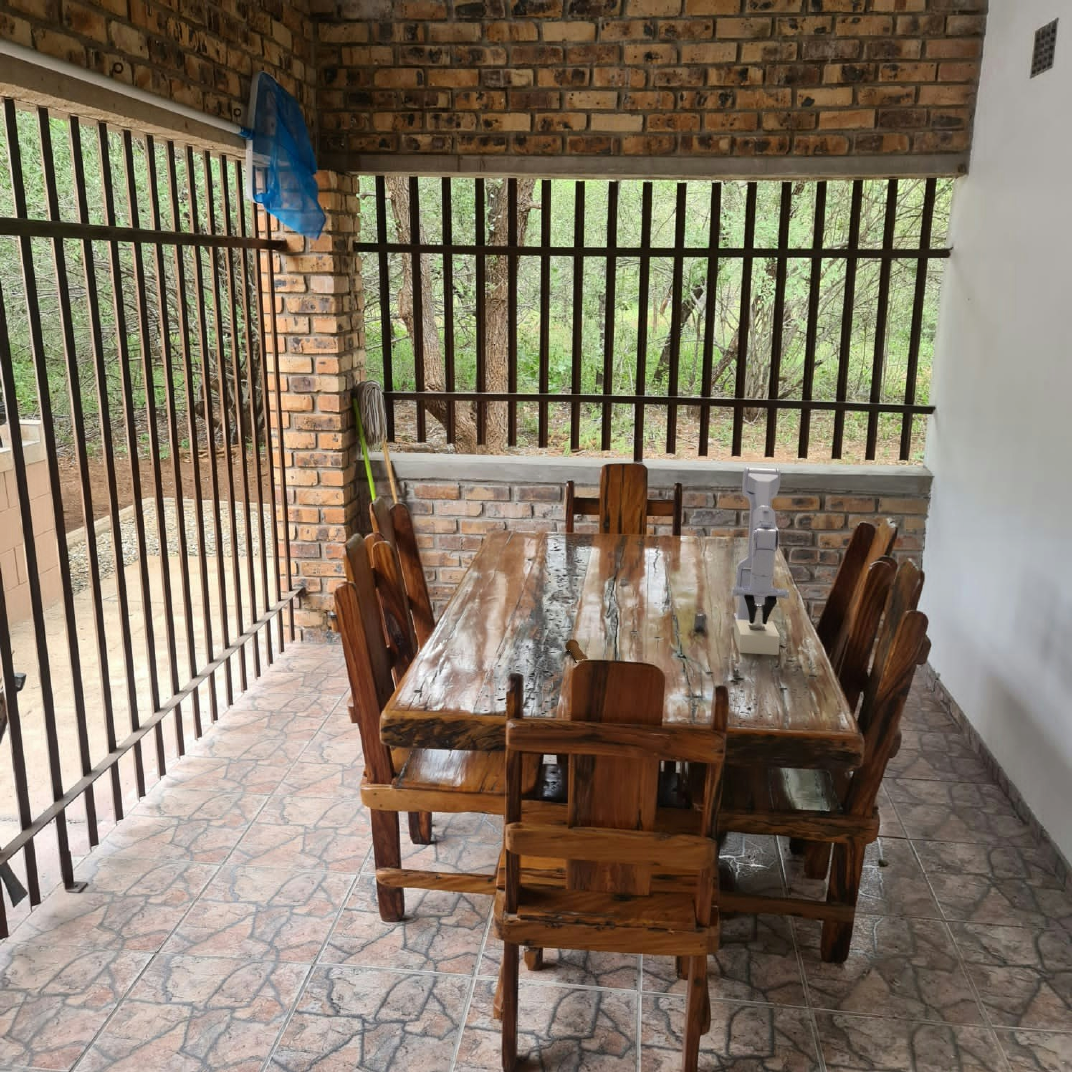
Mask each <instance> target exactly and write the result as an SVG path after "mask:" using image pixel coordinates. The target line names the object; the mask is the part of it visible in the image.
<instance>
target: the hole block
mask: <svg viewBox="0 0 1072 1072" xmlns="http://www.w3.org/2000/svg"><path fill="white" fill-rule="evenodd" d="M734 619H735V618H734ZM751 628H752V624H750V622H749V620H738V619H735V621H734V632H733V638H734V642H735V645H736V646H737V650H738V652H739V654H757V655H775V656H779V653H780V652H779V651H780V641H781V636H780V633H779V632H778V630H777V628H776V625H775V622H774V621H772V620H770V621H769V620H767V624H764V625H763V631H757V630H751Z"/></svg>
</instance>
